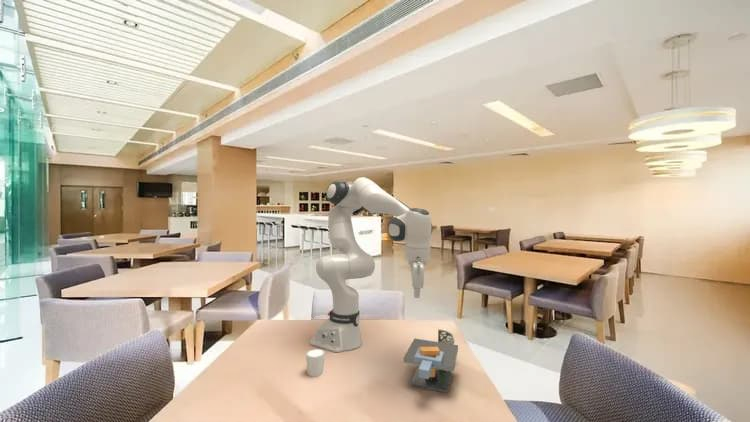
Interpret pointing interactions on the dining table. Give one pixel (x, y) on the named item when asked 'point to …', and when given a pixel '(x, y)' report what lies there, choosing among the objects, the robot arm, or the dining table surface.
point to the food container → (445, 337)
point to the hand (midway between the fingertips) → (416, 292)
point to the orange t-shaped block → (430, 355)
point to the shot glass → (315, 362)
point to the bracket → (427, 363)
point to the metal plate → (441, 376)
